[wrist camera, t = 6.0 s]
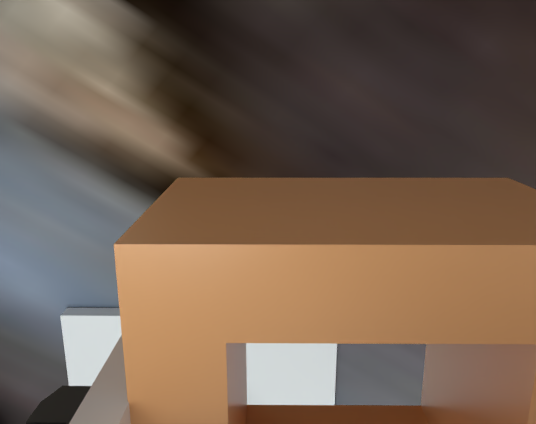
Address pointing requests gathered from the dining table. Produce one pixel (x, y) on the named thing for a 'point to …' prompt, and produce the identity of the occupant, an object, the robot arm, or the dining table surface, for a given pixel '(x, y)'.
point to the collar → (331, 293)
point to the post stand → (257, 360)
